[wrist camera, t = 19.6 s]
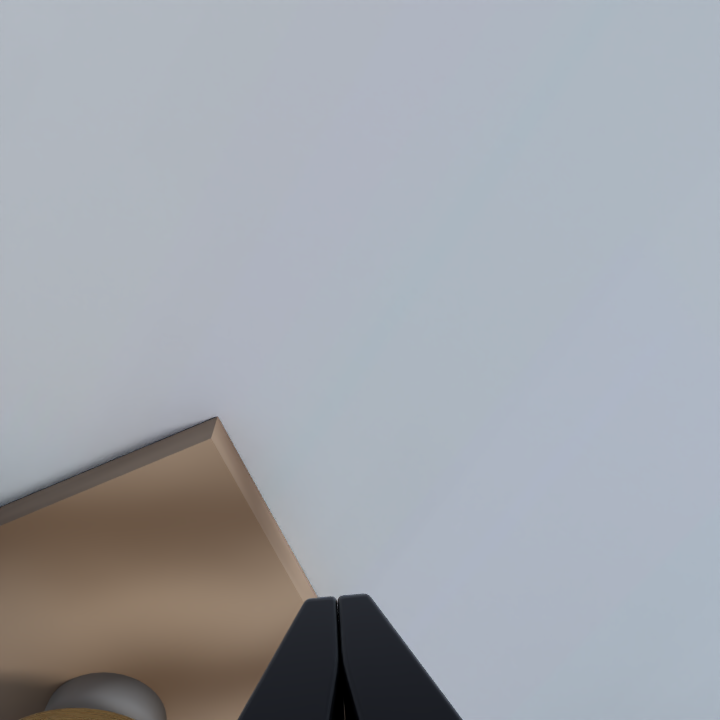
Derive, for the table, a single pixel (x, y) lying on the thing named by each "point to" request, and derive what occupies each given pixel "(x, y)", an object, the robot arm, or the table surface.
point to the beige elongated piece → (76, 715)
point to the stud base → (145, 586)
